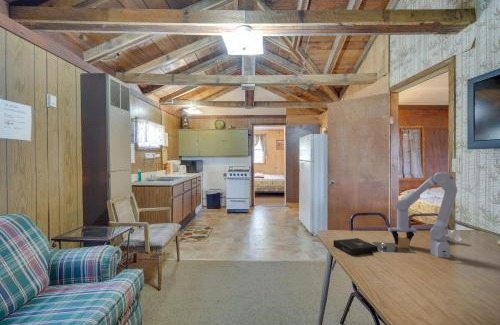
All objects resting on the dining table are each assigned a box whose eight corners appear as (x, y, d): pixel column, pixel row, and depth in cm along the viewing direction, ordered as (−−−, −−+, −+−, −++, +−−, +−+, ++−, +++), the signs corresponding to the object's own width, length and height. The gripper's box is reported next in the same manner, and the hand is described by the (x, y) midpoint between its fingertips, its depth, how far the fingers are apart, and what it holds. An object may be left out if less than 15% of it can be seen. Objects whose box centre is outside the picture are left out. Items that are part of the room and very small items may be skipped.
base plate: (416, 255, 152) (416, 248, 152) (380, 253, 155) (380, 247, 155) (403, 245, 170) (403, 239, 170) (371, 243, 173) (371, 237, 173)
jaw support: (449, 234, 183) (456, 226, 176) (455, 247, 177) (462, 239, 170) (429, 233, 184) (435, 226, 177) (434, 246, 178) (440, 239, 171)
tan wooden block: (409, 247, 161) (409, 239, 161) (398, 247, 162) (398, 238, 162) (405, 244, 167) (405, 236, 167) (395, 244, 168) (395, 235, 168)
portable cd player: (378, 253, 156) (378, 246, 156) (351, 256, 151) (351, 249, 151) (358, 244, 172) (358, 238, 172) (333, 247, 167) (333, 240, 167)
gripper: (413, 219, 167) (412, 243, 168) (386, 218, 169) (386, 242, 170) (418, 222, 160) (418, 246, 161) (390, 221, 162) (390, 245, 163)
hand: (402, 244), depth 165 cm, fingers closed on tan wooden block, 6 cm apart
